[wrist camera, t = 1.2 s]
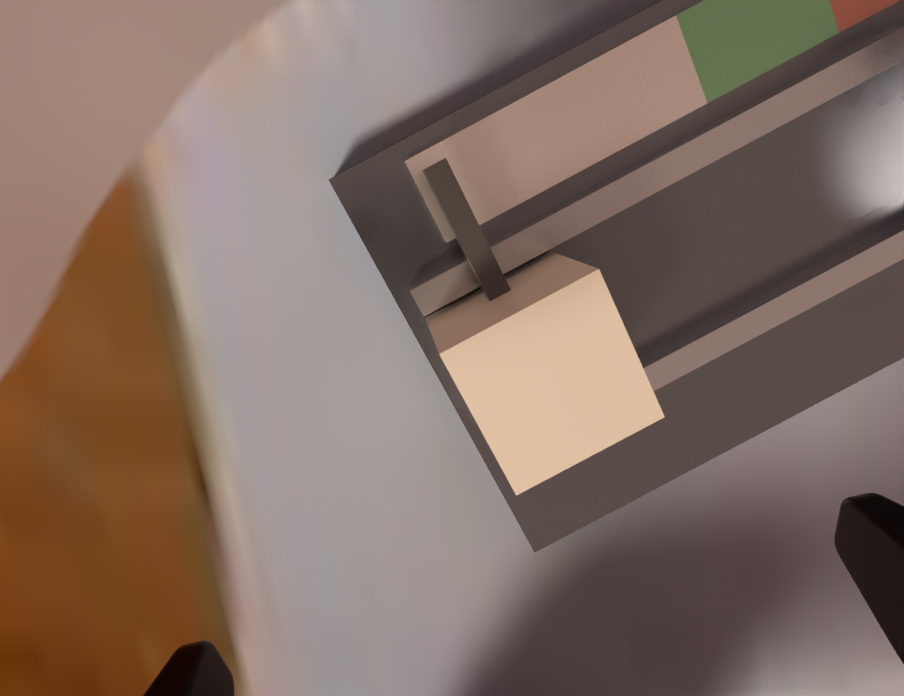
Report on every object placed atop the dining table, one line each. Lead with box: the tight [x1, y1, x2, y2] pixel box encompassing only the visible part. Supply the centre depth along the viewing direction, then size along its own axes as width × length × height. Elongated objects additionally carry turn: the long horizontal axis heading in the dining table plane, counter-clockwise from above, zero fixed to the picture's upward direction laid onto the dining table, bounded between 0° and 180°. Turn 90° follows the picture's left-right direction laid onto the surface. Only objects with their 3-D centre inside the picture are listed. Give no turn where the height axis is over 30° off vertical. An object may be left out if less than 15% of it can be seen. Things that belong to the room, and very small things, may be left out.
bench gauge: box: [329, 0, 904, 552], centre depth 17 cm, size 19×13×5 cm
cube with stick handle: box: [422, 158, 665, 496], centre depth 16 cm, size 4×8×4 cm, turn 27°
